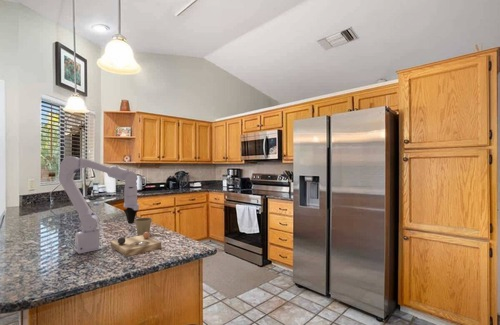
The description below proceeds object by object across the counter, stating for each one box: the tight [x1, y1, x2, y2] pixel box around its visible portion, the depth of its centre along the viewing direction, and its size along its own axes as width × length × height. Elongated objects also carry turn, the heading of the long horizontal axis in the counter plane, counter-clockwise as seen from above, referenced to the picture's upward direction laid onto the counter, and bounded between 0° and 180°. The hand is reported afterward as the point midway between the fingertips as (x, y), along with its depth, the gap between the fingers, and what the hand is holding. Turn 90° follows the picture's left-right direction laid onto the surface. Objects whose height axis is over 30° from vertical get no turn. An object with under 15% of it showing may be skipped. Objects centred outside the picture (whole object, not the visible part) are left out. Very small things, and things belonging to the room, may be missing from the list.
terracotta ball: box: [143, 232, 151, 239], centre depth 128 cm, size 3×3×3 cm
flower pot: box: [134, 217, 153, 236], centre depth 145 cm, size 9×9×9 cm
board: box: [110, 235, 162, 257], centre depth 122 cm, size 16×20×2 cm
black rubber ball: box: [117, 236, 125, 244], centre depth 119 cm, size 3×3×3 cm
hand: (130, 223), depth 127 cm, fingers closed
